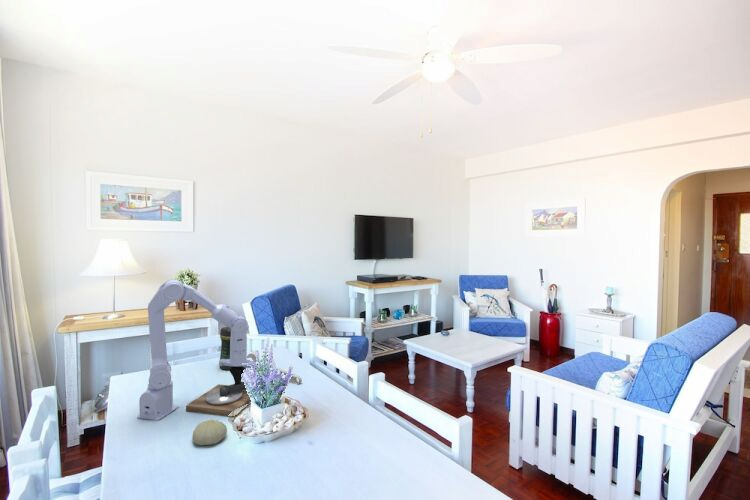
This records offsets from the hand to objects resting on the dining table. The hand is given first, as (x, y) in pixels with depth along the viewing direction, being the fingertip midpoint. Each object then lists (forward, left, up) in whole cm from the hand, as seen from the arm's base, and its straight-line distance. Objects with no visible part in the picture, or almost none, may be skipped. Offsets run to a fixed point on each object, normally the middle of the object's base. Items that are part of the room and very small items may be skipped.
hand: (238, 386), depth 133 cm
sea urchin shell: (-27, -7, -4) cm, 28 cm away
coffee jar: (+27, +20, -4) cm, 34 cm away
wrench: (+21, -4, -4) cm, 21 cm away
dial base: (-6, +2, -4) cm, 7 cm away
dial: (-5, +1, -2) cm, 6 cm away
